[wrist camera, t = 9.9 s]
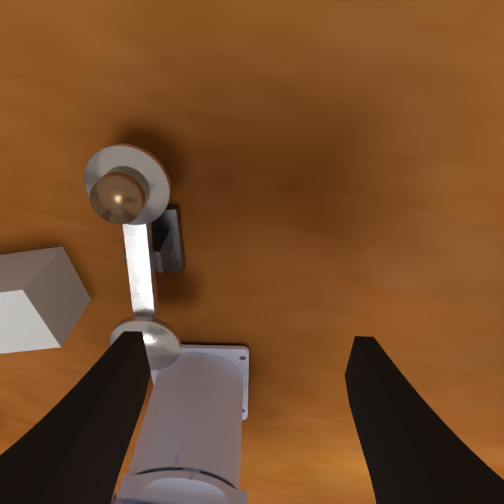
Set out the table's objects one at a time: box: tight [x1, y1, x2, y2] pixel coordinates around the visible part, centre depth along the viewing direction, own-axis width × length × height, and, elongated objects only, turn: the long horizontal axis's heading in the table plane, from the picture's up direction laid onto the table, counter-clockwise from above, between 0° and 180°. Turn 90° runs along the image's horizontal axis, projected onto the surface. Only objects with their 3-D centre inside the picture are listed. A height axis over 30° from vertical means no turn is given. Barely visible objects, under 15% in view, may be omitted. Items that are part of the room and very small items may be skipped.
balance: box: [84, 143, 185, 370], centre depth 19 cm, size 13×4×5 cm, turn 179°
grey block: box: [0, 246, 91, 353], centre depth 21 cm, size 4×4×4 cm
